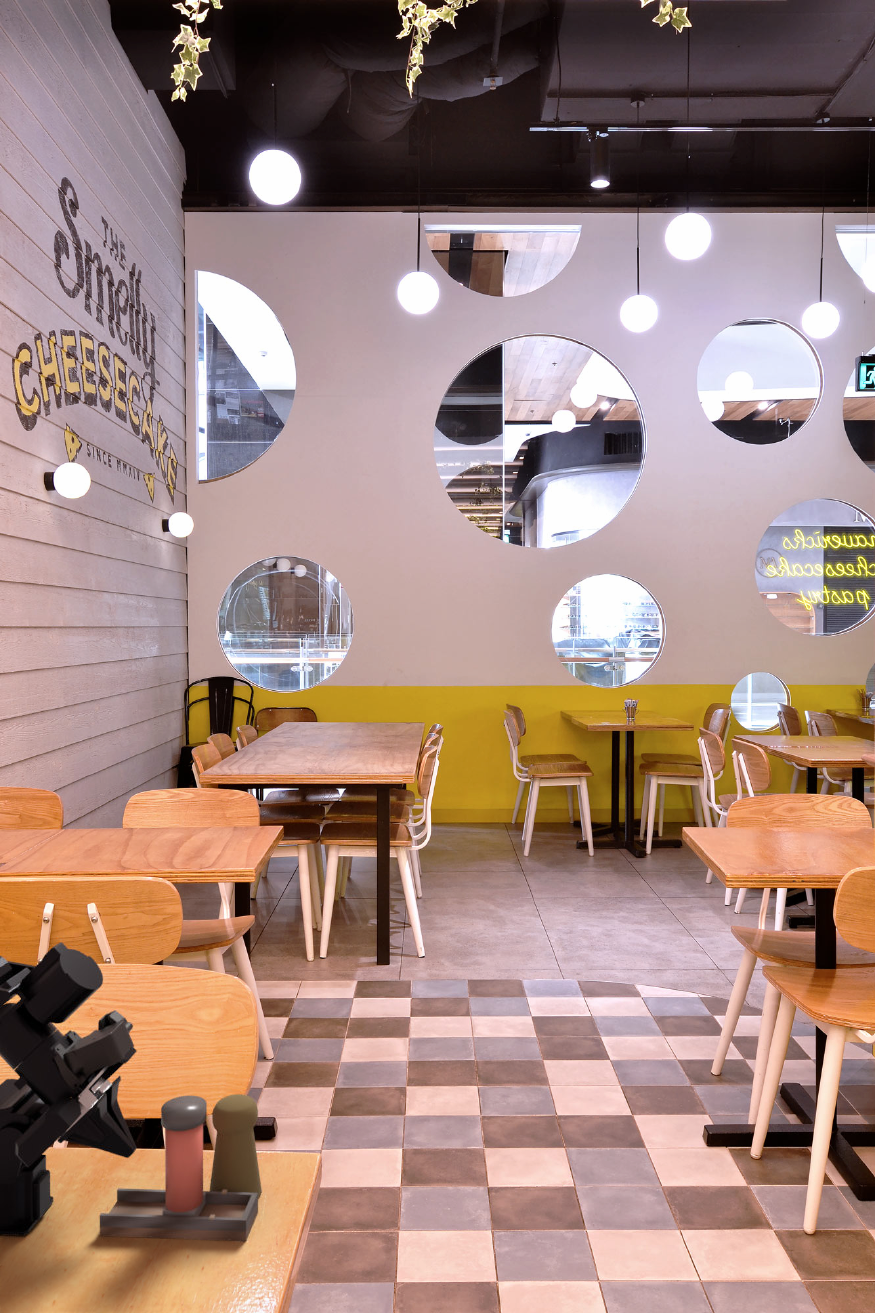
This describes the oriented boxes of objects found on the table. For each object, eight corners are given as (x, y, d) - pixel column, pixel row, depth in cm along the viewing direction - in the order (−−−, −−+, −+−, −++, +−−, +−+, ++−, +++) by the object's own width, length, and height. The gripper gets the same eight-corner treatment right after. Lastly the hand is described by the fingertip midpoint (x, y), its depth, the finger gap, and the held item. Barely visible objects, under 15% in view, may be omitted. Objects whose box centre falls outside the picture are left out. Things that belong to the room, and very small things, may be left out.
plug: (155, 1225, 99) (154, 1116, 99) (170, 1198, 104) (170, 1095, 104) (199, 1226, 99) (198, 1117, 99) (212, 1200, 104) (212, 1096, 104)
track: (99, 1236, 99) (99, 1214, 99) (118, 1207, 104) (118, 1186, 104) (245, 1241, 98) (245, 1219, 98) (258, 1212, 104) (258, 1190, 103)
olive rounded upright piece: (249, 1213, 103) (249, 1115, 103) (199, 1206, 105) (199, 1110, 104) (269, 1182, 109) (269, 1090, 109) (222, 1176, 110) (221, 1085, 110)
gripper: (46, 1035, 93) (152, 1150, 92) (120, 970, 111) (209, 1066, 111) (-31, 1110, 93) (74, 1225, 93) (56, 1033, 112) (144, 1128, 111)
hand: (132, 1153), depth 102 cm, fingers closed
